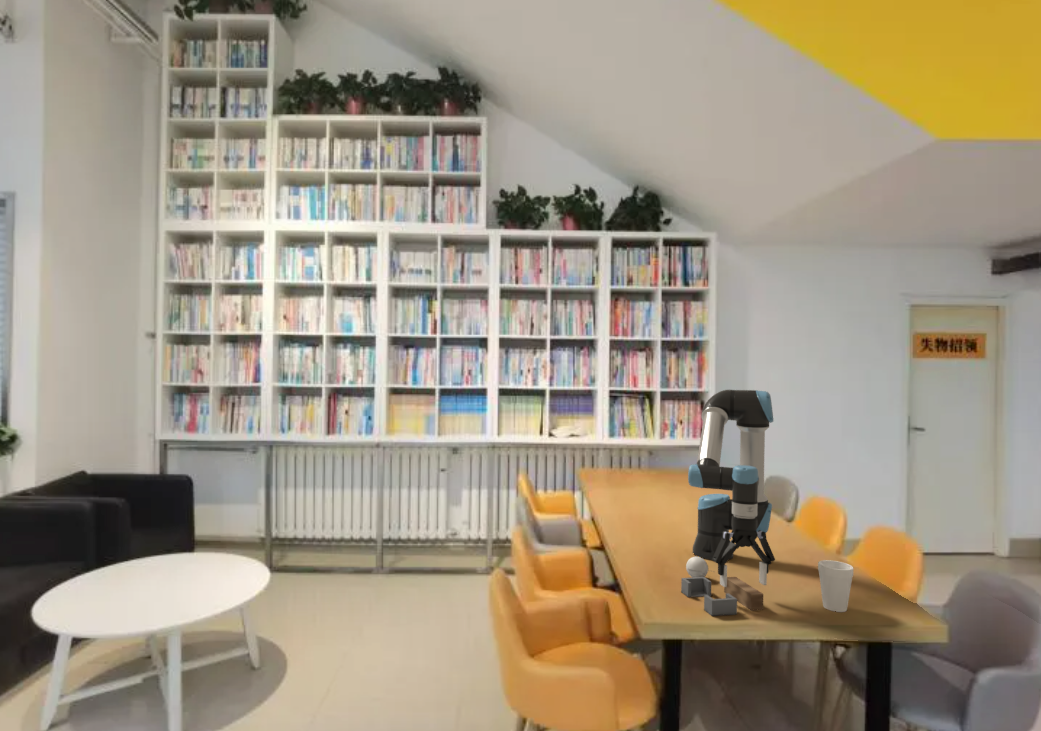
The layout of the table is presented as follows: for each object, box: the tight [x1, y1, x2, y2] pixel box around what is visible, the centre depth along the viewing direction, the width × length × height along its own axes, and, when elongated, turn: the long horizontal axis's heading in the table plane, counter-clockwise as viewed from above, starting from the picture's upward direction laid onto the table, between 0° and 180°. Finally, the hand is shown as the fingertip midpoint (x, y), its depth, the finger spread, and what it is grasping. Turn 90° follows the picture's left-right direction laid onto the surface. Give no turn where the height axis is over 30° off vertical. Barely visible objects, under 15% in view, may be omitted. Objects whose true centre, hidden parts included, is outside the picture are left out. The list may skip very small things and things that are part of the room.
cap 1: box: [680, 576, 712, 598], centre depth 190 cm, size 4×8×4 cm, turn 102°
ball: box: [685, 556, 715, 578], centre depth 203 cm, size 10×7×7 cm
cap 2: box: [703, 593, 738, 617], centre depth 175 cm, size 4×8×4 cm, turn 102°
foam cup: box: [817, 559, 854, 613], centre depth 181 cm, size 10×9×13 cm
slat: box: [723, 576, 764, 612], centre depth 185 cm, size 15×4×5 cm, turn 11°
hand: (743, 584), depth 185 cm, fingers open, 13 cm apart
